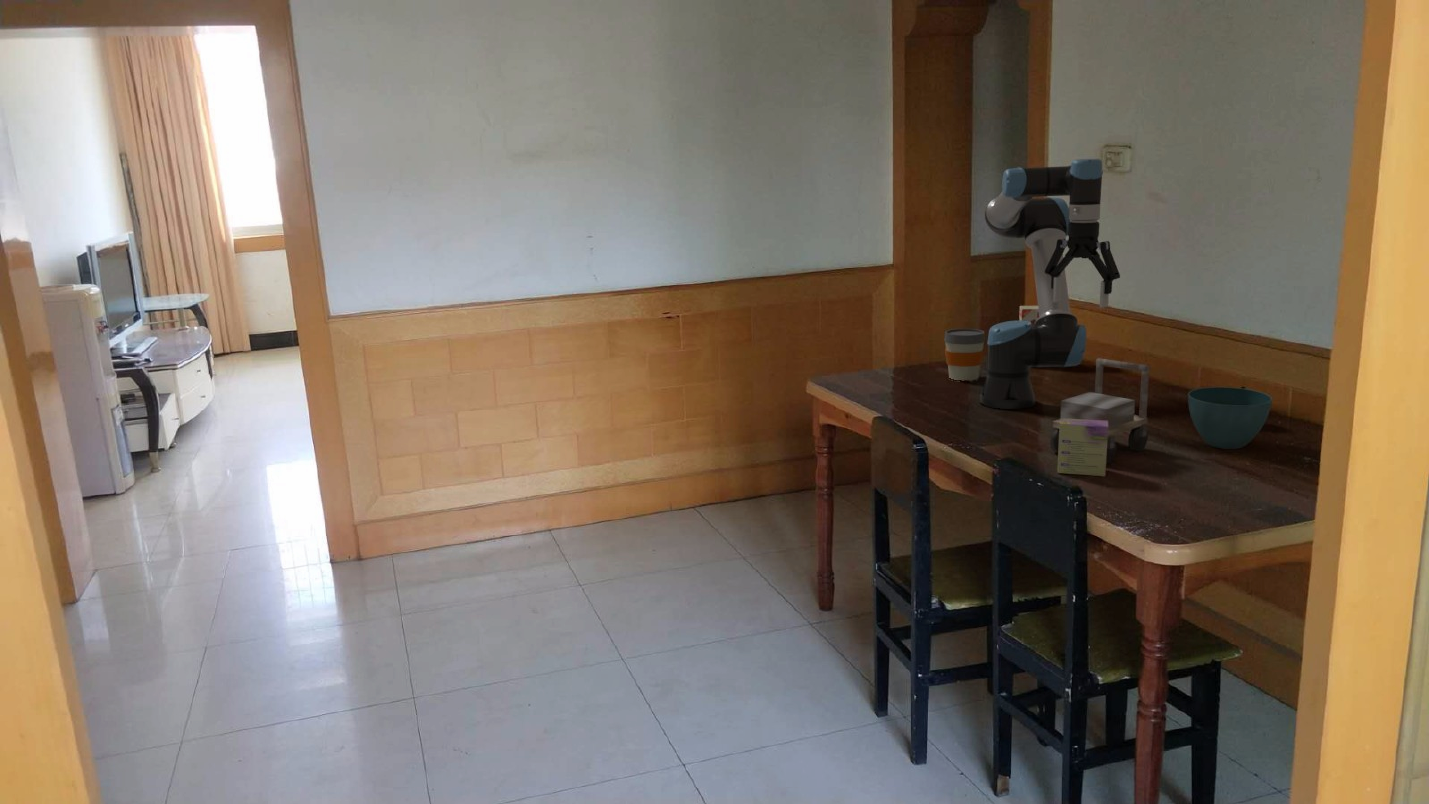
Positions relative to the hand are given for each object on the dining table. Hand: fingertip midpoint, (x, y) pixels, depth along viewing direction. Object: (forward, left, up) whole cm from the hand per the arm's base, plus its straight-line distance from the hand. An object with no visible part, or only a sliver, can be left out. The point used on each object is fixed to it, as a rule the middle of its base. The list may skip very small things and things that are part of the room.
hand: (1079, 304), depth 273 cm
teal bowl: (+37, +7, -32) cm, 49 cm away
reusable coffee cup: (-54, +22, -32) cm, 66 cm away
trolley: (+19, -19, -32) cm, 42 cm away
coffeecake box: (-48, +55, -32) cm, 80 cm away
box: (+25, -36, -32) cm, 54 cm away
